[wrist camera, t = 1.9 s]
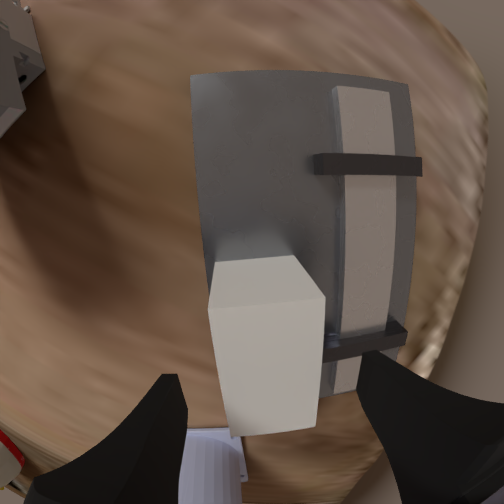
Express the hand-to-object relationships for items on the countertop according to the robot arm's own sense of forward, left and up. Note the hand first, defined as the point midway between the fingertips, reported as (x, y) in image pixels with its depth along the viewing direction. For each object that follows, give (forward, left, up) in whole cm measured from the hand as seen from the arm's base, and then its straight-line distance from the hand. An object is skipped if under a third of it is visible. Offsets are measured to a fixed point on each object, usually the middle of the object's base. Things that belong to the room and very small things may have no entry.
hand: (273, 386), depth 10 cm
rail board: (+3, -3, -7) cm, 8 cm away
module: (0, 0, -6) cm, 6 cm away
